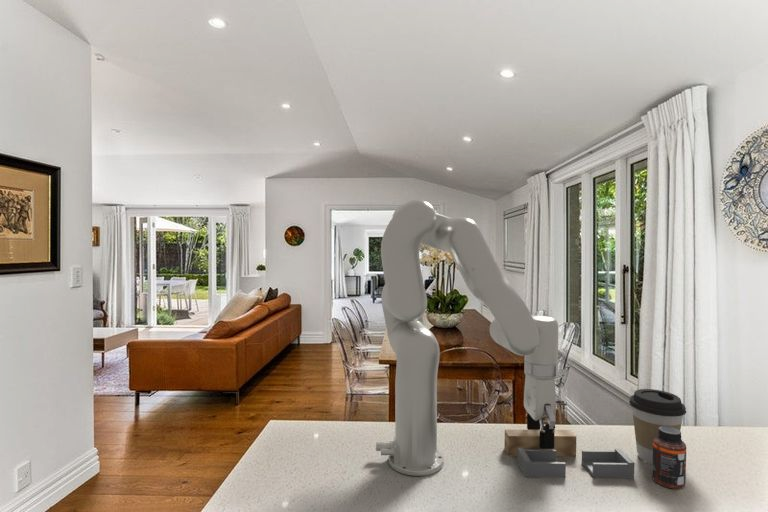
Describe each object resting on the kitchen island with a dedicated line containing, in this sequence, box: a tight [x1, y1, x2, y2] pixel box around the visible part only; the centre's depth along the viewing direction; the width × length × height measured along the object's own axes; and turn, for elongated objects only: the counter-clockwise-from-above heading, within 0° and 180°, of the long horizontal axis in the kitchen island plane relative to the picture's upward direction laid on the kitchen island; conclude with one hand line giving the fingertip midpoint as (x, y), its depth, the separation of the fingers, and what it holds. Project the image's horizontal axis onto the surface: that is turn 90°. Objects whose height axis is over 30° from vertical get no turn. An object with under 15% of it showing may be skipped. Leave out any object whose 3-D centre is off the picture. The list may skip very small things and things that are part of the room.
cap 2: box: [581, 448, 636, 479], centre depth 98 cm, size 9×6×3 cm
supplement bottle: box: [651, 426, 687, 490], centre depth 93 cm, size 6×6×11 cm
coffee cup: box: [628, 388, 687, 465], centre depth 103 cm, size 11×11×15 cm
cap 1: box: [517, 448, 567, 478], centre depth 99 cm, size 9×6×3 cm
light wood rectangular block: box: [503, 429, 577, 457], centre depth 107 cm, size 16×4×5 cm, turn 89°
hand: (539, 438), depth 107 cm, fingers open, 9 cm apart
